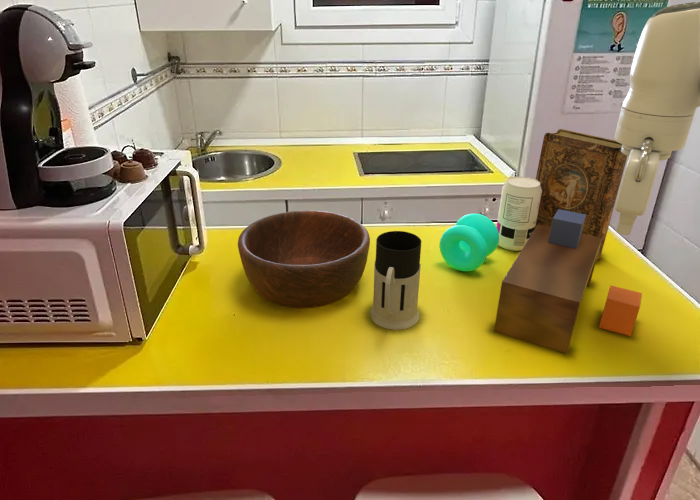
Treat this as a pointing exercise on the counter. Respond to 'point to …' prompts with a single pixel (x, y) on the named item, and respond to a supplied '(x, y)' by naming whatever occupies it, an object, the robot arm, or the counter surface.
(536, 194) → the supplement can
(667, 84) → the robot arm
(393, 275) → the glass holder
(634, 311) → the orange box
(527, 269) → the shelf
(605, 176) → the book
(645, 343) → the counter surface
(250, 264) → the wooden bowl
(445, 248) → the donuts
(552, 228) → the slate-blue box
